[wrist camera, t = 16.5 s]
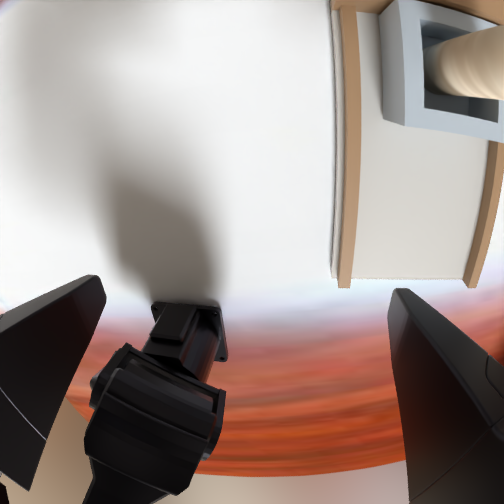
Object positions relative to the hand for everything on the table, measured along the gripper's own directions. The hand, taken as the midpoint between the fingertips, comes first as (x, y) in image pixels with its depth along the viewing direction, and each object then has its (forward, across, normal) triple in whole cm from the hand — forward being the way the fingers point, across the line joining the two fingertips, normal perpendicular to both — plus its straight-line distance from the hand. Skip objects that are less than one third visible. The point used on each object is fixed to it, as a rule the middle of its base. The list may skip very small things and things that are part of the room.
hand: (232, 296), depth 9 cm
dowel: (+11, -10, -8) cm, 17 cm away
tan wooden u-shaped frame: (+13, -10, -3) cm, 17 cm away
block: (+12, -10, -7) cm, 17 cm away
